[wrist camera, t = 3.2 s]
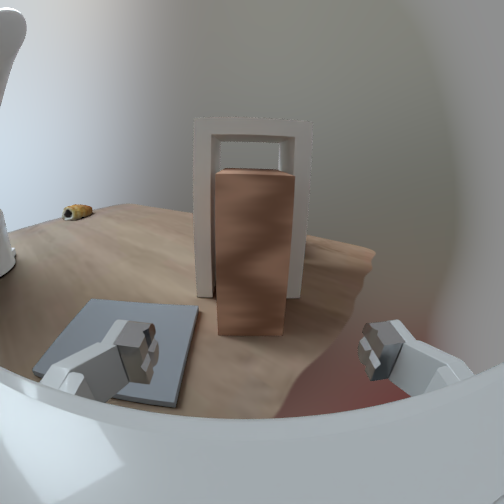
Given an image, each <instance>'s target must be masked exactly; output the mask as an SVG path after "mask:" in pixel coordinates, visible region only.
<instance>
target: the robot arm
mask: <svg viewBox="0 0 504 504" xmlns="http://www.w3.org/2000/svg"><path fill="white" fill-rule="evenodd" d="M25 36H26V21H25V19H24V17H23V15H22V14H21V13H20V12H18V11H17V10H15V9H12V8H1V9H0V106H1V102H2V98H3V95H4V91H5V87H6V84H7V81H8V77H9V74H10V71H11V68H12V65H13V62H14V60H15V57H16V55H17V53H18V51H19V49H20V47H21V45H22V43H23V41H24V39H25ZM15 255H16V251H15V248H11V244H10V240H9V237H8V233H7V228H6V224H5V220H4V215H3V212H2V210H1V209H0V277H1V276H2V275H4V274H5V273H7V272H8V271H9V270H10V269H11V268H12V267H13V266H14V264H15V258H14V256H15ZM362 333H363V334H364V337H363V338H362V339H361V340H360V342H359V346H358V356H359V360H360V362H361V363H362V364H364V365H365V366H366V368H365V372H366V373H367V375H368V377H369V379H370V381H375V380H381V379H387V378H389V380H390V381H391V382H393V383H394V384H395V385H397V386H398V387H399V388H401V389H402V390H403V391H405V392H406V393H408V394H409V395H410V396H411V397H410V398H406V399H403V400H399V401H395V402H391V403H387V404H382V405H377V406H373V407H368V408H363V409H357V410H351V411H345V412H339V413H331V414H323V415H314V416H304V417H292V418H274V419H219V418H201V417H188V416H178V415H169V414H162V413H155V412H148V411H142V410H136V409H131V408H126V407H121V406H116V405H112V404H107V403H105V402H107V401H108V400H109V399H110V398H112V397H113V396H114V395H115V394H116V393H118V392H119V391H120V390H121V389H123V388H124V387H125V386H126V385H127V384H129V382H132V383H140V384H149V385H150V382H151V379H152V377H153V374H154V371H153V367H154V366H156V365H157V362H158V359H159V345H158V341H157V340H156V339H155V338H154V336H155V334H156V330H155V325H154V324H153V323H146V322H137V321H128V320H119V319H118V320H116V321H115V322H114V324H113V325H112V327H111V328H110V330H109V331H108V333H107V334H106V336H105V337H104V339H103V340H102V342H101V343H99V342H97V343H95V344H93V345H91V346H89V347H87V348H85V349H83V350H81V351H79V352H77V353H75V354H73V355H71V356H69V357H67V358H65V359H63V360H61V361H59V362H57V363H55V364H53V365H51V367H50V368H49V370H48V371H47V372H46V374H45V375H44V377H43V378H42V380H41V381H40V382H39V383H38V382H35V381H33V380H30V379H28V378H25V377H23V376H20V375H18V374H16V373H13V372H11V371H9V370H7V369H5V368H3V367H0V504H504V362H502V363H501V364H498V365H496V366H494V367H492V368H490V369H488V370H486V371H483V372H481V373H479V374H476V375H474V374H473V373H472V371H471V370H470V369H469V368H468V367H467V365H466V364H465V363H464V362H463V360H461V359H459V358H457V357H454V356H452V355H450V354H448V353H446V352H443V351H441V350H439V349H437V348H435V347H433V346H431V345H428V344H426V343H424V342H422V341H419V340H418V341H416V339H415V338H414V337H413V336H412V335H411V333H410V332H409V331H408V330H407V329H406V327H405V326H404V325H403V324H402V322H400V321H399V320H390V321H385V322H376V323H366V324H365V326H364V328H363V332H362Z"/></svg>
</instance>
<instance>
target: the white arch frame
mask: <svg viewBox="0 0 504 504" xmlns="http://www.w3.org/2000/svg"><path fill="white" fill-rule="evenodd" d="M312 131H313V122H309V121H300V120H288V119H273V118H250V117H249V118H248V117H205V118H194V136H193V137H194V138H193V218H194V249H195V270H196V287H197V297H213V292H214V287H215V282H216V251H215V174H216V173H218V172H219V171H220V149H221V146H220V145H221V141H223V142H229V141H230V142H231V141H233V142H235V141H236V142H268V143H279V171H282V172H285V173H288V174H291V175H294V176H295V191H294V208H293V224H292V238H291V251H290V263H289V275H288V286H287V297H286V298H300V292H301V283H302V274H303V265H304V255H305V244H306V232H307V221H308V208H309V194H310V176H311V158H312Z"/></svg>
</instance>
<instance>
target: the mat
mask: <svg viewBox="0 0 504 504" xmlns="http://www.w3.org/2000/svg"><path fill="white" fill-rule="evenodd" d="M198 311H199V308H198V306H190V305H169V304H152V303H137V302H124V301H112V300H101V299H91V300H90V301H89V302H88V303H87V304H86V305H85V306H84V307H83V308H82V310H81V311H80V312H79V313H78V314H77V315H76V316H75V318H74V319H73V320H72V321H71V322H70V323H69V324H68V326H67V327H66V328H65V329H64V330H63V332H62V333H61V334H60V335H59V336H58V338H57V339H56V340H55V341H54V342H53V344H52V345H51V346H50V347H49V349H48V350H47V351H46V352H45V354H44V355H43V356H42V358H41V359H40V360H39V361H38V363H37V364H36V365H35V367H34V368H33V369H32V371H33V373H34V375H36V376H38V377H41V378H43V377H44V375H45V374H46V372H47V371H48V370H49V368H50V367H51V365H53V364H55V363H57V362H59V361H61V360H63V359H65V358H67V357H69V356H71V355H73V354H75V353H77V352H79V351H81V350H83V349H85V348H87V347H89V346H91V345H93V344H95V343H97V342H99V343H101V342H102V340H103V339H104V337H105V336H106V334H107V333H108V331H109V330H110V328H111V327H112V325H113V324H114V322H115V321H116V320H118V319H119V320H128V321H137V322H146V323H153V324H154V325H155V330H156V334H155V336H154V338H155V339H156V340H157V341H158V345H159V359H158V362H157V365H156V366H154V367H153V371H154V374H153V377H152V379H151V382H150V385H149V384H140V383H132V382H129V384H127V385H126V386H125V387H124V388H123V389H121V390H120V391H119V392H118V393H116V394H115V395H114V396H113V398H117V399H122V400H128V401H133V402H139V403H145V404H152V405H159V406H167V407H175V408H176V403H177V398H178V394H179V389H180V385H181V381H182V376H183V372H184V368H185V364H186V359H187V355H188V351H189V347H190V343H191V339H192V335H193V331H194V327H195V323H196V319H197V315H198Z"/></svg>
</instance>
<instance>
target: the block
mask: <svg viewBox="0 0 504 504" xmlns="http://www.w3.org/2000/svg"><path fill="white" fill-rule="evenodd" d="M294 191H295V176H294V175H291V174H288V173H285V172H282V171H279V170H273V169H246V168H243V169H242V168H225V169H223V170H221V171H219V172H218V173H216V174H215V251H216V292H217V320H218V335H225V336H282V335H283V326H284V317H285V307H286V297H287V286H288V275H289V263H290V251H291V238H292V224H293V208H294Z"/></svg>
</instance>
